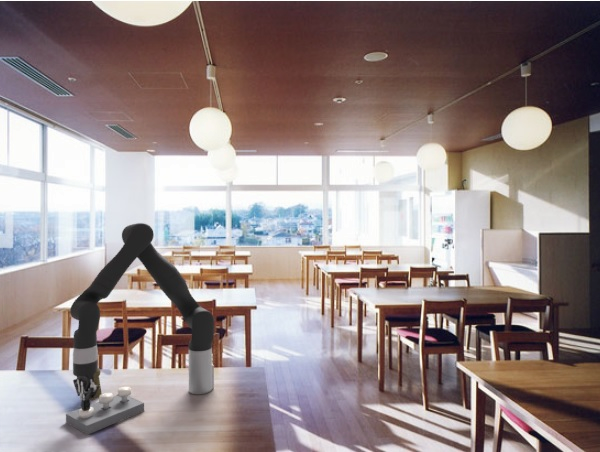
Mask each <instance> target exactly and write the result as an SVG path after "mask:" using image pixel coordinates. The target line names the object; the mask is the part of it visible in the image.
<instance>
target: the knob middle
mask: <svg viewBox="0 0 600 452" xmlns="http://www.w3.org/2000/svg"><path fill="white" fill-rule="evenodd" d="M113 396H114V394H113V393H111V392H105V393H102V394H101V395H100V396H99V398H98V402H99V403H100V404H103V410H107V409H109V403H110V402H112V401H113Z"/></svg>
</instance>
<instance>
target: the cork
mask: <svg viewBox="0 0 600 452" xmlns="http://www.w3.org/2000/svg"><path fill="white" fill-rule="evenodd" d="M100 375H101V369H100V368H99V367H98V371H97V372H96V373H95V374H94V379H95V381H94V384H95V386H97V385H98V386H99V388H98V390H97V392H96V394H95V396H94V398H91V399H90V401H92V400H97V399H99V396H100V395H101V394H103V393H102V387H101V380H100Z"/></svg>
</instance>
